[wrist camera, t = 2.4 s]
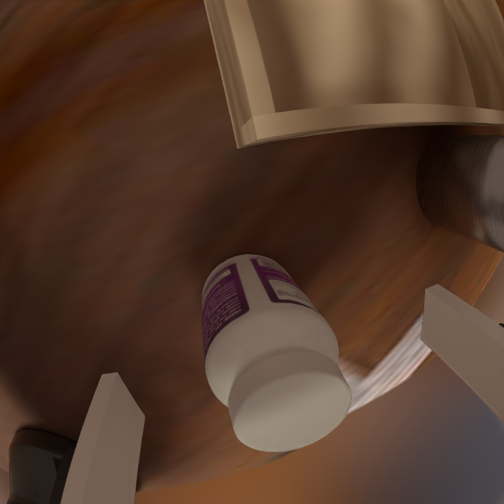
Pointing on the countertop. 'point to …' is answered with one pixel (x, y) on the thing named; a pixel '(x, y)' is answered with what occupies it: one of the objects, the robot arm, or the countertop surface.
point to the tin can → (464, 186)
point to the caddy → (357, 65)
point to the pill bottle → (270, 356)
